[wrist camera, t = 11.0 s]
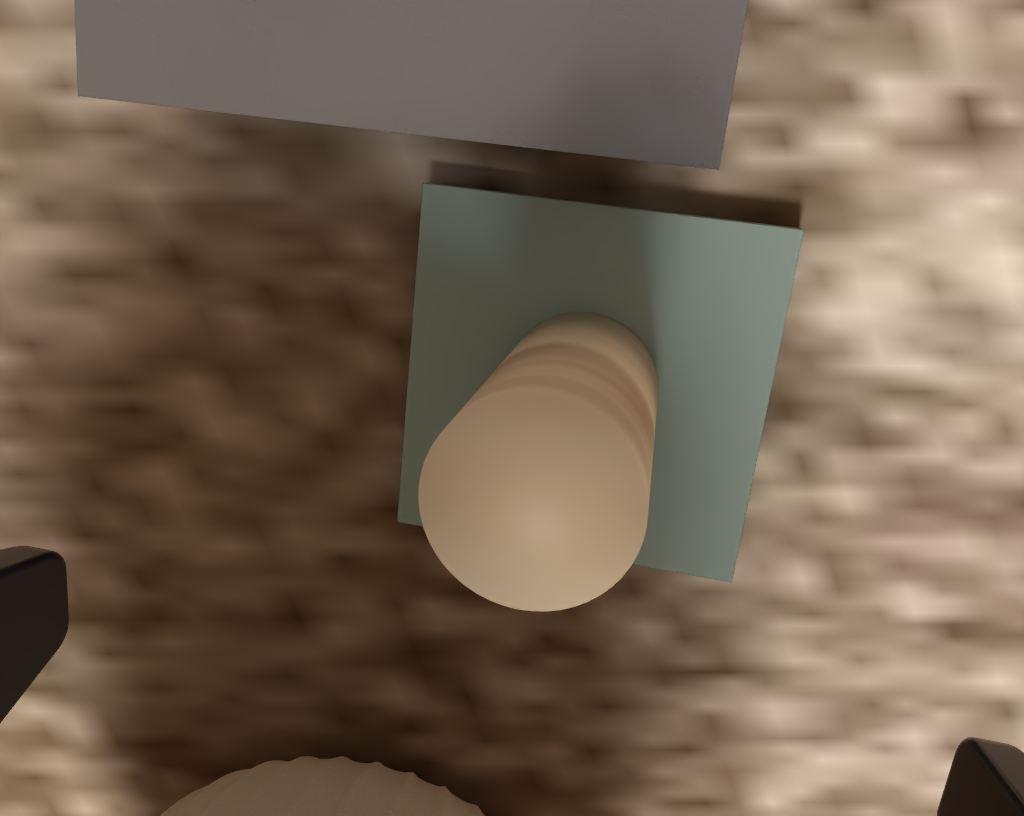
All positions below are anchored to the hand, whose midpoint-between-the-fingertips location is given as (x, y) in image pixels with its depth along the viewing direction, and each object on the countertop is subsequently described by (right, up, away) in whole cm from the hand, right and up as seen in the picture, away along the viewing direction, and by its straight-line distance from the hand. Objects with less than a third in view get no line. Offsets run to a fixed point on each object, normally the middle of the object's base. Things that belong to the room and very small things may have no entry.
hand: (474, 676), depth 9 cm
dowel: (+2, +3, +11) cm, 11 cm away
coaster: (+2, +3, +11) cm, 12 cm away
